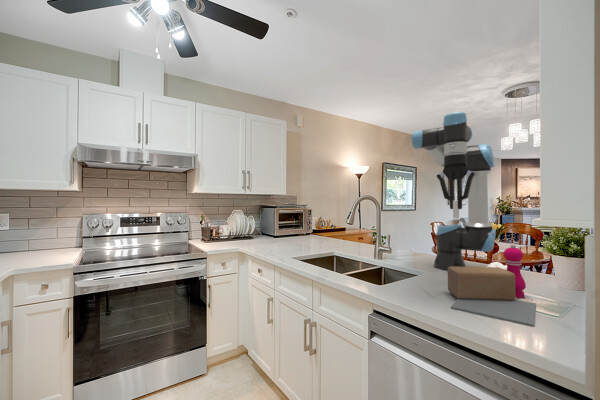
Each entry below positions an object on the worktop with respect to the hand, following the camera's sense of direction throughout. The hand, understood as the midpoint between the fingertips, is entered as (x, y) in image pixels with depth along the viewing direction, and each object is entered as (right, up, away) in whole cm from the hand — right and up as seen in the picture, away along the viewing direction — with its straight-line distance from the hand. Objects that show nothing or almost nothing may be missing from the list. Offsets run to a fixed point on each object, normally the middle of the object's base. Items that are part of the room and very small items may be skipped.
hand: (456, 218), depth 105 cm
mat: (+9, -30, -8) cm, 32 cm away
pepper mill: (+24, -30, +3) cm, 39 cm away
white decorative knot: (+30, -30, +18) cm, 46 cm away
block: (0, -25, +3) cm, 25 cm away
